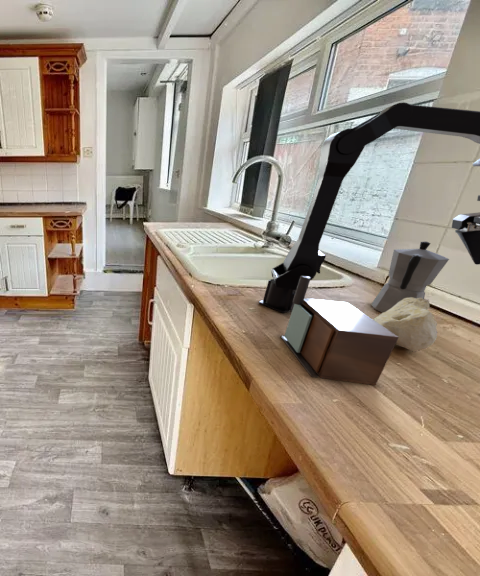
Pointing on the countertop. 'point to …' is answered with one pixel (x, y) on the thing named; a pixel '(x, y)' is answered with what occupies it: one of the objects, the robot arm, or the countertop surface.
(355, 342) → the cabinet
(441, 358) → the countertop surface
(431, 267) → the coffeepot
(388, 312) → the beige rock
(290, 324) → the cleaver
